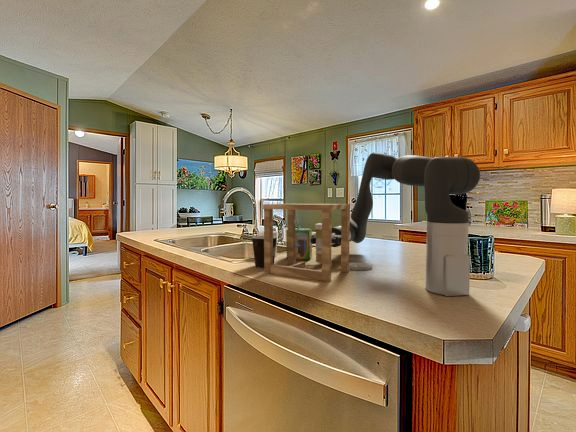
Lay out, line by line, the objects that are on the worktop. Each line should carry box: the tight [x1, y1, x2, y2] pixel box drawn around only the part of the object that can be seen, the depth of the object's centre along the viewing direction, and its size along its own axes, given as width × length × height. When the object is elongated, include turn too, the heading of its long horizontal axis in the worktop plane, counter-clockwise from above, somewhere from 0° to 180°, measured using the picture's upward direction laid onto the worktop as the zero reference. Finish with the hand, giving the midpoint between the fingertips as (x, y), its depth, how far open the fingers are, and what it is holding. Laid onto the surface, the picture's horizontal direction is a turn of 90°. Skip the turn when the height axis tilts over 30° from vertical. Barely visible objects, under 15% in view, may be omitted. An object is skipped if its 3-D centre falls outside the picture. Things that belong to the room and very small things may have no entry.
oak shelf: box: [262, 203, 351, 283], centre depth 100 cm, size 17×22×22 cm
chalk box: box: [285, 220, 313, 261], centre depth 125 cm, size 9×9×15 cm
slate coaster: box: [349, 262, 373, 272], centre depth 108 cm, size 10×10×1 cm
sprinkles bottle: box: [314, 222, 322, 264], centre depth 110 cm, size 5×5×14 cm
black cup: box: [257, 230, 279, 257], centre depth 129 cm, size 8×8×10 cm
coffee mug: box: [251, 235, 278, 269], centre depth 109 cm, size 12×9×10 cm
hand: (318, 241), depth 108 cm, fingers closed on sprinkles bottle, 4 cm apart
